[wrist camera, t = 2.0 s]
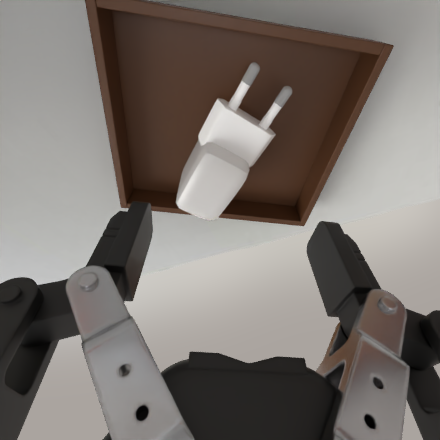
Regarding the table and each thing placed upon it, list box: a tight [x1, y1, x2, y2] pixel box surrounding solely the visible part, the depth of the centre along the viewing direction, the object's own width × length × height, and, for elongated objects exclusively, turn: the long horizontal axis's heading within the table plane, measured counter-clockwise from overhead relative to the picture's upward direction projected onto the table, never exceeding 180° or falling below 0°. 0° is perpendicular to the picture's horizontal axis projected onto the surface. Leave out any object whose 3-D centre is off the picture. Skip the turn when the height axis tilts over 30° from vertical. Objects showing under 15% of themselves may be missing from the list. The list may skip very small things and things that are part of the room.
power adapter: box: [176, 62, 293, 221], centre depth 19 cm, size 11×5×6 cm, turn 150°
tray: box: [85, 0, 394, 226], centre depth 20 cm, size 18×15×3 cm
